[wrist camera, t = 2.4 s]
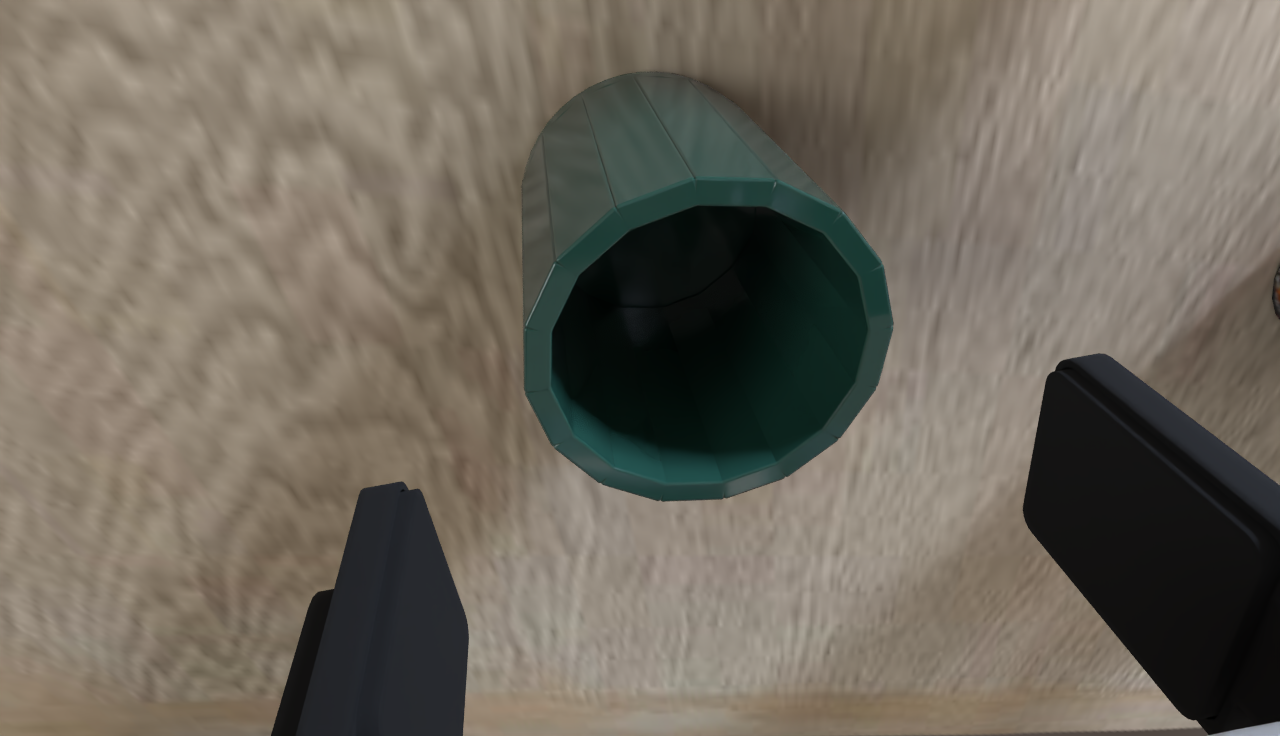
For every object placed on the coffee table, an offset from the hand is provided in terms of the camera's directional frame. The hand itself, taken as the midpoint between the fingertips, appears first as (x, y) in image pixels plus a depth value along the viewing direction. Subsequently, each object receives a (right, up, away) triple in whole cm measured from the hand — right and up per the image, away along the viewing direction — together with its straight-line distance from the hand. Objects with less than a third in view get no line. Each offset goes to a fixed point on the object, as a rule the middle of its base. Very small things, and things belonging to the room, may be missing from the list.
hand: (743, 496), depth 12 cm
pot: (-1, +7, +10) cm, 12 cm away
